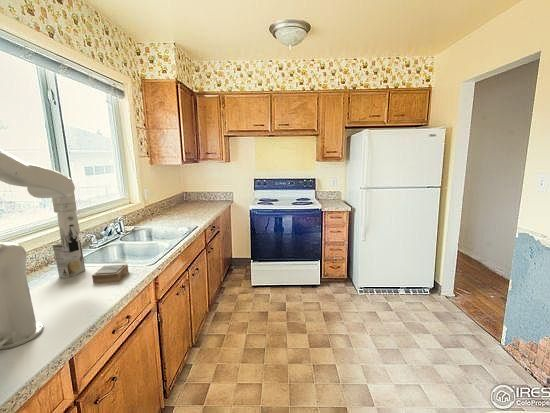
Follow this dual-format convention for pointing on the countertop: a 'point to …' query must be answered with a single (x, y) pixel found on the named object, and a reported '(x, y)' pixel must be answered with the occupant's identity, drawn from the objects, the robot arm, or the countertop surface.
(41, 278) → the countertop surface
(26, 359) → the countertop surface
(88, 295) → the countertop surface
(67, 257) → the energy drink can
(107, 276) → the plate
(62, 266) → the coffee box
